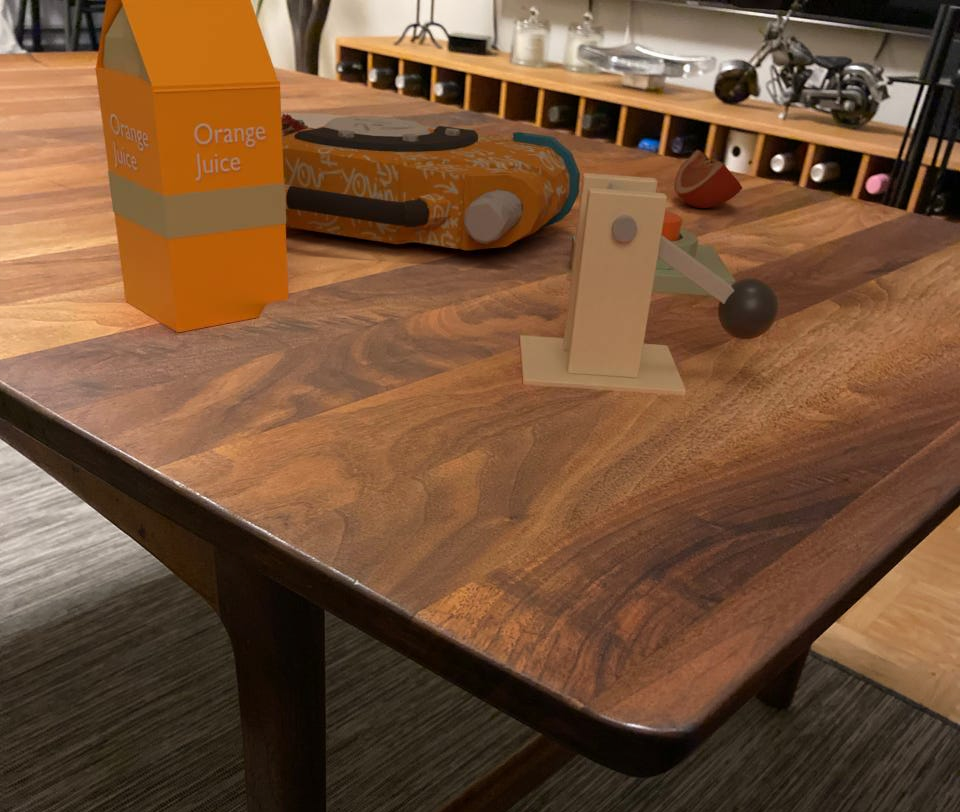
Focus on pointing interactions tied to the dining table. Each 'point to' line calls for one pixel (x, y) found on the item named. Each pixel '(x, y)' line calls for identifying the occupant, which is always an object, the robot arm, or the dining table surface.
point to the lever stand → (609, 297)
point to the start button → (671, 226)
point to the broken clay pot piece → (705, 181)
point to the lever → (726, 292)
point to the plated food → (304, 121)
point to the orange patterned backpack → (425, 183)
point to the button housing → (675, 281)
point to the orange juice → (194, 159)
